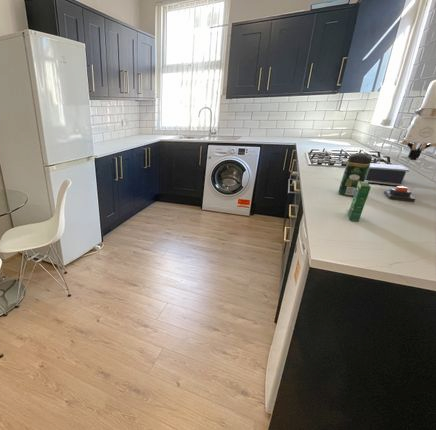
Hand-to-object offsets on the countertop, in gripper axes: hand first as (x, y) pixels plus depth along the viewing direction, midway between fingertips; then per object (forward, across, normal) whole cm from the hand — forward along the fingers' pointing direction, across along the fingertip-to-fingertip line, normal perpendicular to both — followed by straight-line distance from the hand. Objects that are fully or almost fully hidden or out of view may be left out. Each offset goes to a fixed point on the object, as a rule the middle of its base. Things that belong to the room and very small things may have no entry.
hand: (412, 159), depth 118 cm
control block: (+17, 0, -1) cm, 17 cm away
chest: (+17, -2, +26) cm, 31 cm away
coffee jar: (+17, -18, -6) cm, 25 cm away
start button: (+14, 0, -1) cm, 14 cm away
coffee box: (+17, -20, -40) cm, 48 cm away
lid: (+9, -2, +26) cm, 27 cm away
